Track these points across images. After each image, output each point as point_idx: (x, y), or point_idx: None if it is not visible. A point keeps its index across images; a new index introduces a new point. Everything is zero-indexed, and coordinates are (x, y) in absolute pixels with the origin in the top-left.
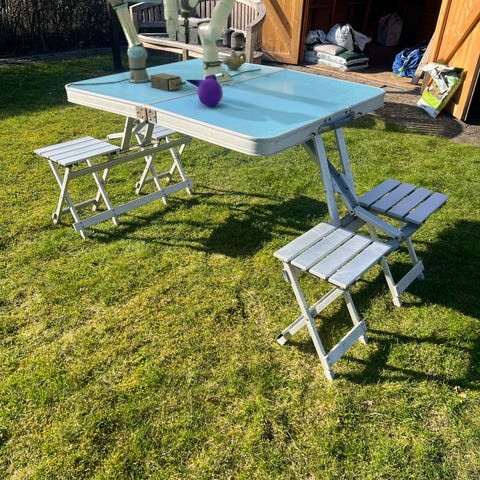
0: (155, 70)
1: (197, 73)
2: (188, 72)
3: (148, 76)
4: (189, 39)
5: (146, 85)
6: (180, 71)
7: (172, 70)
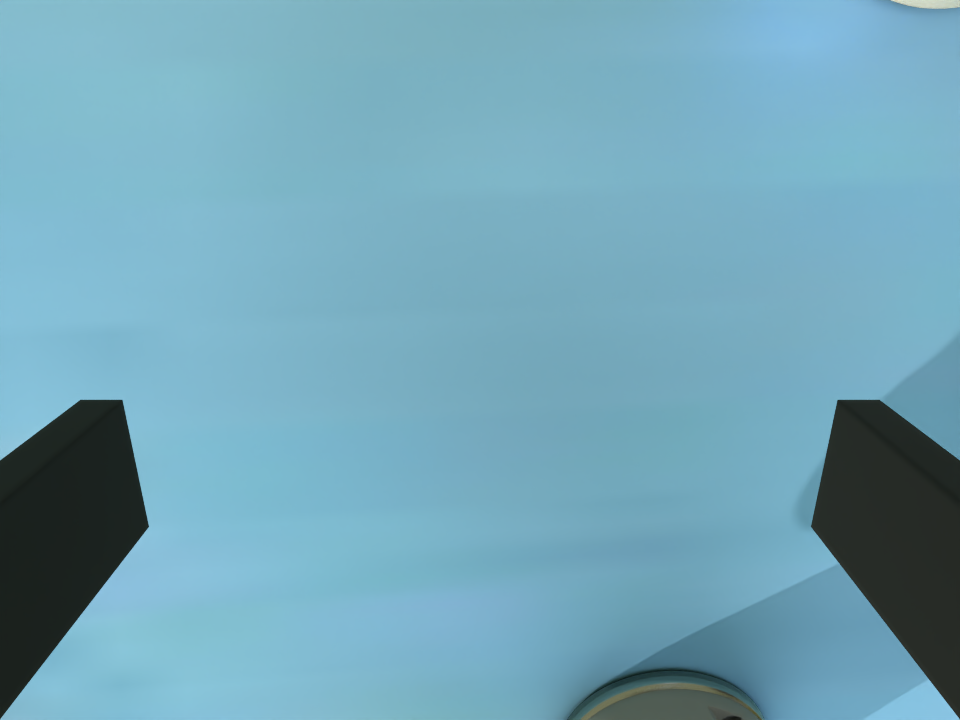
0: None
1: (251, 110)
2: (161, 260)
3: (689, 711)
4: (70, 449)
5: (918, 671)
6: (81, 378)
7: None
